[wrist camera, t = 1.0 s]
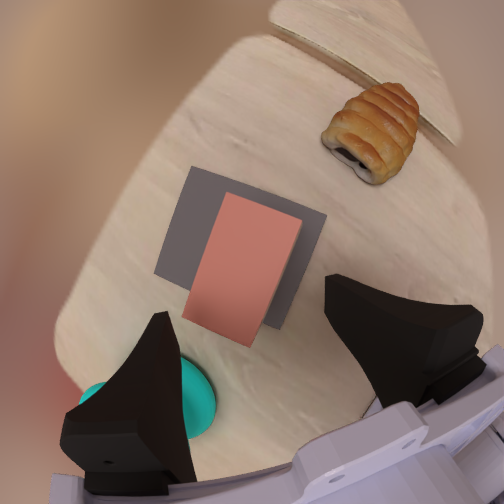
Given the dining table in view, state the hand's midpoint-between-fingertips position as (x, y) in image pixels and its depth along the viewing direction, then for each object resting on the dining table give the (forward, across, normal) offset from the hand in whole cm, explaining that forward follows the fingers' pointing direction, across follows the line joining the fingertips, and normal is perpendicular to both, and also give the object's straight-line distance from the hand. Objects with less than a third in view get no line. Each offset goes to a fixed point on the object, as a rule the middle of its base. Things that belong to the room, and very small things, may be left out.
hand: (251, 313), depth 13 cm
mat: (+12, -1, +2) cm, 12 cm away
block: (+10, -3, +2) cm, 11 cm away
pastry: (+11, -14, -6) cm, 19 cm away
